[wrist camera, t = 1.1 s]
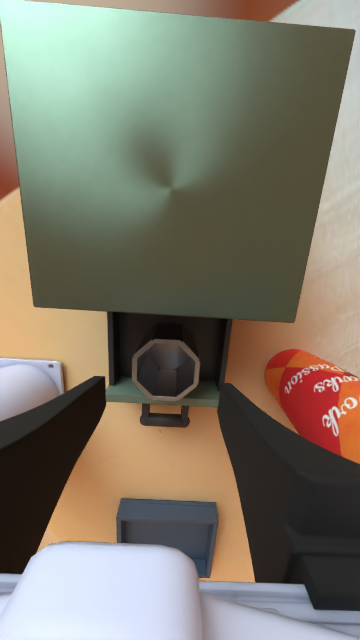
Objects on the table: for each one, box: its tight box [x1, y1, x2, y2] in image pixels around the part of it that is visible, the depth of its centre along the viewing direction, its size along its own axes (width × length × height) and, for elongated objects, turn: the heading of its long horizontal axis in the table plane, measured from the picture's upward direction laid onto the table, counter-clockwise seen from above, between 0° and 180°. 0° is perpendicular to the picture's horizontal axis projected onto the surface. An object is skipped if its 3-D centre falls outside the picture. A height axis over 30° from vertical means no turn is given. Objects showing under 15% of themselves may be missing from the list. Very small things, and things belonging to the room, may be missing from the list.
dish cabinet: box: [0, 0, 355, 323], centre depth 13 cm, size 14×12×10 cm
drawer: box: [106, 312, 232, 428], centre depth 18 cm, size 11×15×4 cm
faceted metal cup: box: [132, 323, 200, 401], centre depth 17 cm, size 5×5×5 cm
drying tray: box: [116, 499, 219, 578], centre depth 26 cm, size 13×11×2 cm
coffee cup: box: [265, 349, 360, 464], centre depth 14 cm, size 8×8×15 cm
